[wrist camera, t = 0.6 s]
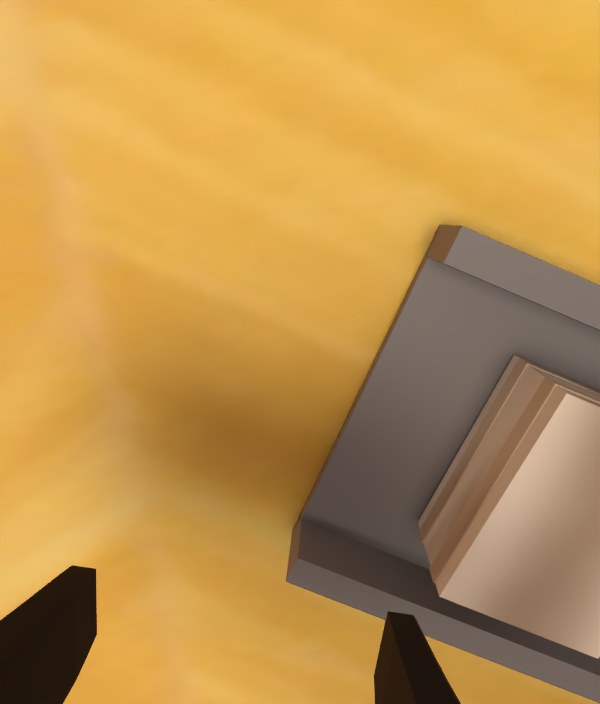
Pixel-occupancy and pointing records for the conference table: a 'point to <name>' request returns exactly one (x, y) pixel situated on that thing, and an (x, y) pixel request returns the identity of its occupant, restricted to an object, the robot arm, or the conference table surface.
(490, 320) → the bay
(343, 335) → the conference table surface
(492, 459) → the tan layered slab
